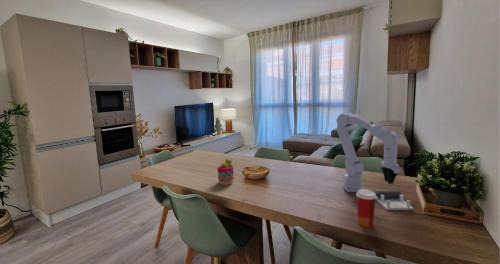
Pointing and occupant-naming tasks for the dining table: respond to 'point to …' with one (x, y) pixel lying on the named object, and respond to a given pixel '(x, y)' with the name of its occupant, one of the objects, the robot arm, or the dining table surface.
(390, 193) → the dark grey capsule
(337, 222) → the dining table surface
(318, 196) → the dining table surface
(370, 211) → the paper cup
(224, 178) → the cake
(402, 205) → the board
